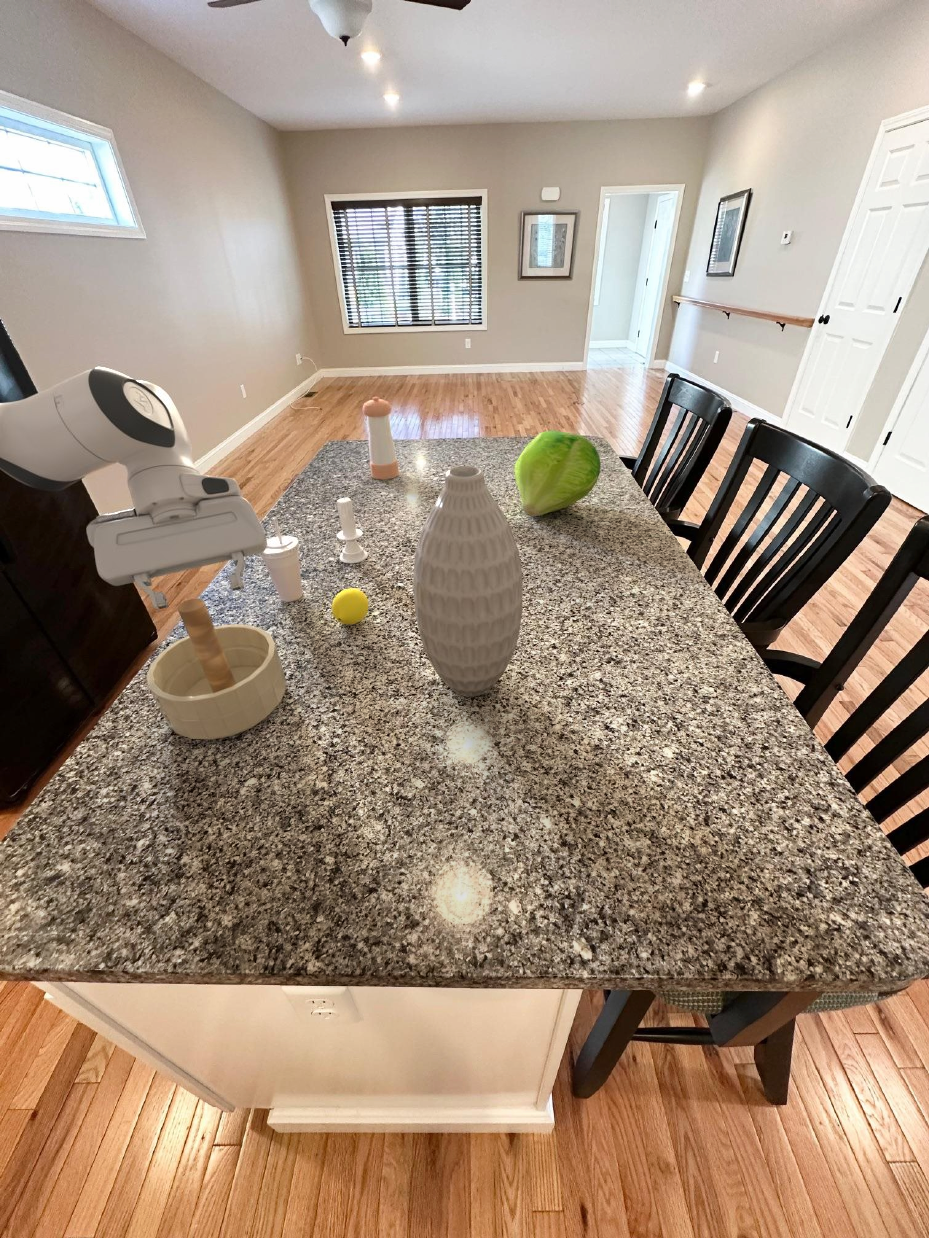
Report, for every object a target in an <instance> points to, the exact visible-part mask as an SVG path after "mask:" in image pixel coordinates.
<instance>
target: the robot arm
mask: <svg viewBox="0 0 929 1238" xmlns="http://www.w3.org/2000/svg"><path fill="white" fill-rule="evenodd" d="M117 463H118V464H120V465H123V466H125V468H126V471H127V479H126V480H127V487H128V490H129V493H130V496H131V501H132V504H133V508H130V509H127V510H126V509H125V510H121V511H117V512H114V513H109V514H108V513H105V514H100V515H98V516H96V518H95V519H93V520H92V521H90V522H89V523H88V525H87V526H86V536H87V540H88V543H89V544H90V546H91V547H92V548H93V551H94V552H93V553H94V559H95V565H96V566H95V567H96V571H97V573H98V576H99V577H100V578H101V579H102V580H103V581H104V582H106V583H108V584H110V585H111V586H114V587H120V586H123V585H127V584H132V583H135V585H136V586H137V587H139V588H140V589H141V591H143V592H144V593H145V594H146V595H148V596H149V598H150V602H151V605H152V607H153V609H154V610H155V611H159V610H163V609H167V608H169V603H168V601H167V600H168V599H167V596H166V594H165V593H164V592H163V591H159V592H155V591H154V590H153V589H151V588H150V587H152V586H153V583H152V579H154V578H158V577H162V576H166V575H171V574H175V573H179V572H184V571H189V570H193V569H198V568H201V567H205V566H211V565H215V564H218V563H219V564H220V563H223V562H228V561H233V563H234V566H235V570H234V573H233V574H229V575H228V576H227V577H228V580H229V583H230V588H231V589H232V591H233V592H234V591H238V590H243V589H245V585H244V582H243V578H242V577H243V575H244V571H245V567H246V564H247V563H246V559H245V557H249V556H253V555H259V553H263V552H264V551H265V549H266V547H267V539H268V538H267V536H266V532H265V530H264V527H263V525H262V523H261V520H260V519H259V517H258V515H257V512H256V510H255V509H254V507H253V505H252V504H251V503H250V502H249V501H248V500H247V499H246V498H244V497H243V493H242V490H241V487H240V486H239V483H238V481H236V480H235V478H232V477H222V476H212V475H203V474H201V473H200V470H199V469H198V468H197V466H196V465H195V463H194V448H193V446H192V442H191V439H190V436H189V433H188V430H187V429H186V426H185V423H184V421H183V418H182V416H181V414H180V412H179V410H178V409H177V406H176V405H175V403H174V401H173V400H172V398H171V396H169V394H168V392H166V391H165V390H164V389H162V388H161V387H160V386H159V385H157V384H154V383H153V382H149V381H145V380H139V379H138V380H137V379H134V378H132V377H131V376H128V375H126V374H124V373H121V372H119V371H116V370H114V369H110V368H107V367H102V366H97V367H94V368H91V369H88V370H85V371H83V372H81V373H79V374H76V375H74V376H72V377H69V378H67V379H65V380H63V381H61V382H58V383H57V384H55V385H52V386H51V387H49V388H47V389H44V390H42V391H40V392H37V393H35V394H33V395H30V396H28V397H27V398H24V399H23V398H22V399H20V400H15V401H10V402H0V470H1V471H2V472H3V473H5V474H6V475H8V476H9V477H11V478H12V479H14V480H16V481H17V482H20V483H22V484H24V485H26V486H27V487H31V488H34V489H37V490H41V491H46V492H59V491H62V490H65V489H67V488H68V487H70V486H72V485H74V484H76V483H77V482H79V481H81V480H83V479H84V478H86V477H87V476H89V475H92V474H94V473H97V472H98V471H101V470H104V469H105V468H109V467H110V466H113V465H114V464H117Z"/></svg>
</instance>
